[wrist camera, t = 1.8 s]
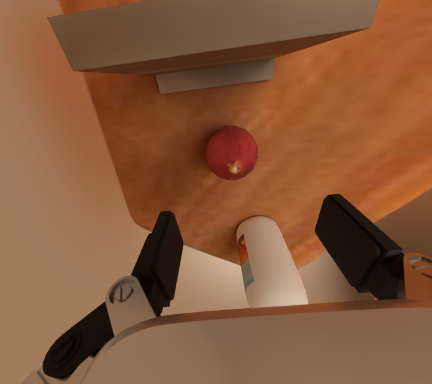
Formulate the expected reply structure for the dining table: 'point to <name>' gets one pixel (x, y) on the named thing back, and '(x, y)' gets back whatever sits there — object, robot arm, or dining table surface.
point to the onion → (231, 153)
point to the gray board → (203, 37)
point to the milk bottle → (268, 265)
